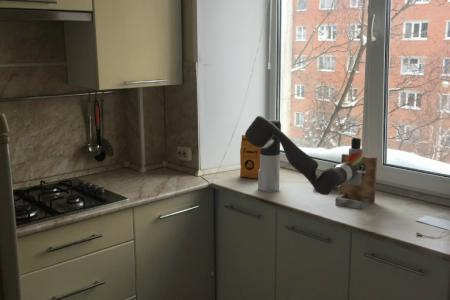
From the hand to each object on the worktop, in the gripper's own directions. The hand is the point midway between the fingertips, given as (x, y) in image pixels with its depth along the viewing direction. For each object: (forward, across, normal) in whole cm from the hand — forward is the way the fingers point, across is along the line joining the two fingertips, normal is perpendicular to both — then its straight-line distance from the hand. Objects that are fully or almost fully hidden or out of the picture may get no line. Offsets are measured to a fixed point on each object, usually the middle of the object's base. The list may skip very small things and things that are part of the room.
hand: (357, 165), depth 226 cm
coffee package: (+16, -60, -16) cm, 65 cm away
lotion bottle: (-2, 0, -8) cm, 8 cm away
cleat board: (-2, 0, -16) cm, 17 cm away
